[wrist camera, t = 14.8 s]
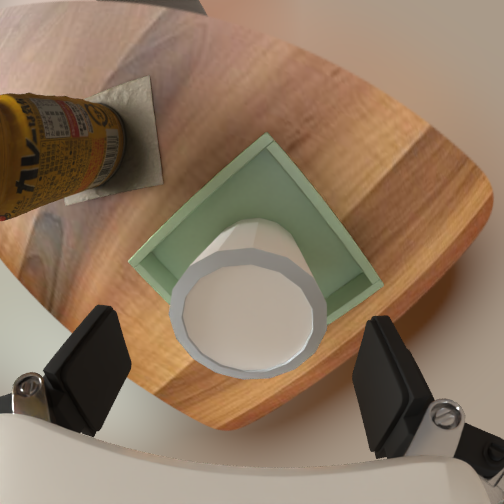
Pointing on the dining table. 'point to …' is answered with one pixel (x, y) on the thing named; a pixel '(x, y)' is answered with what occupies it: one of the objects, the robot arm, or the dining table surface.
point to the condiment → (76, 147)
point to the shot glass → (249, 303)
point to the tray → (266, 207)
